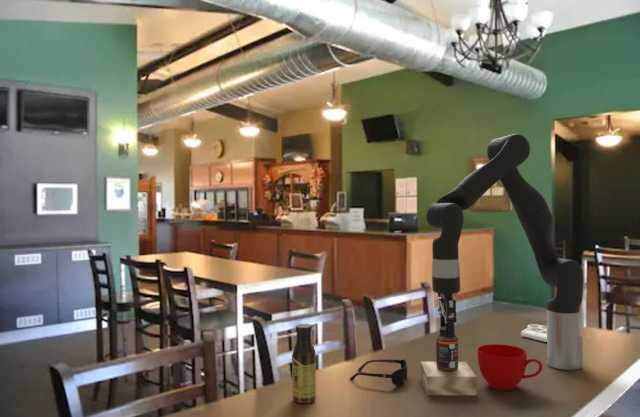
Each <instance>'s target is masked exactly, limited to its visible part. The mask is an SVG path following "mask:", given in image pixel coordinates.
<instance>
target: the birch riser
mask: <svg viewBox="0 0 640 417" xmlns="http://www.w3.org/2000/svg"><path fill="white" fill-rule="evenodd" d="M477 379H478V378H477V375H476V374H475V373H474V371H473V370H472V368H471V367H470V365H469V363H467V361H458V369H457V370H455V371H443V370H440V369H438V368H437V364H436V361H420V380H421V383H422V386H423V388H424V390H425V393H426V395H427V396H477V395H478V394H477V390H478V389H477V388H478V387H477V384H478V383H477V382H478V381H477Z"/></svg>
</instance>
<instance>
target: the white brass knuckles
mask: <svg viewBox="0 0 640 417" xmlns="http://www.w3.org/2000/svg"><path fill="white" fill-rule="evenodd" d="M526 327H527V328H525V329H523V330H522V331H521V332H520V336H521V337H523V338H527V339H532V340H535V341H538V340H539V342H542V341H543V343H546V342H547V325H542V324H541V325H540V324H533V323H532V324H528V325H526Z"/></svg>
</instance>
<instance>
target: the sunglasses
mask: <svg viewBox="0 0 640 417" xmlns="http://www.w3.org/2000/svg"><path fill="white" fill-rule="evenodd" d="M370 363H392V364H400V367H401V368H399V369H396V370H394V371H393V372H392V373H391V374H390V373H389V374H388V373H368V372H362V371H363V370H364V368H365V367H366V366H367V365H368V364H370ZM357 376H368V377H374V378H375V377H377V378H381V379H382V378H385V379H391V383H392V385H394V387H395V386H396V387H399V386H402V385H404V384H405V380H406V379H407V378H408V377H407V376H408V367H407V360H406V359H372V360H368V361H366V362H365V363H363V364H362V365H361V366H360V367H359V368H358V369H357V373H355V374H353V375H352V376H351V377H350V378H349V381H354V380H355V378H356V377H357Z"/></svg>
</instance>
